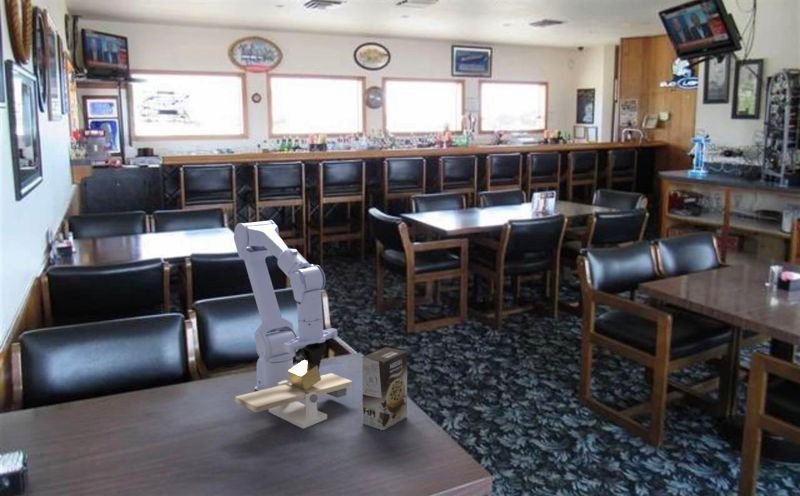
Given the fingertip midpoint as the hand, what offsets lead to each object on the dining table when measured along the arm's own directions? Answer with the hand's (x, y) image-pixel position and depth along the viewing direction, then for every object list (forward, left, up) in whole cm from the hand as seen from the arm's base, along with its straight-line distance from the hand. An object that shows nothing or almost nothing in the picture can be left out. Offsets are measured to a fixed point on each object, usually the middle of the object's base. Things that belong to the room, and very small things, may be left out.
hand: (313, 373), depth 154 cm
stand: (0, -5, -9) cm, 10 cm away
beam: (0, -5, -6) cm, 8 cm away
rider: (0, -2, -2) cm, 3 cm away
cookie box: (+17, +7, -9) cm, 20 cm away
